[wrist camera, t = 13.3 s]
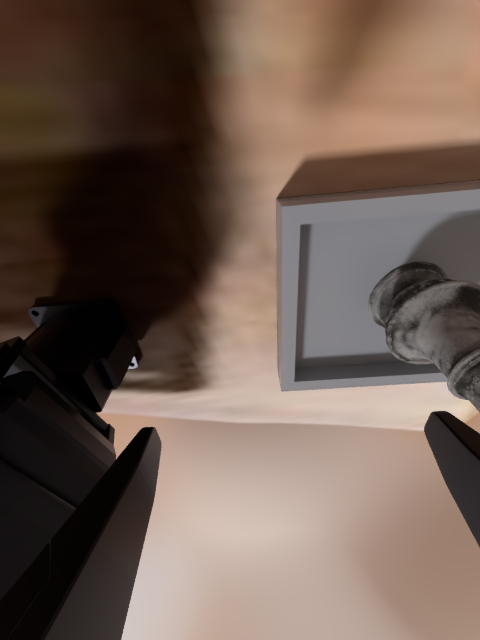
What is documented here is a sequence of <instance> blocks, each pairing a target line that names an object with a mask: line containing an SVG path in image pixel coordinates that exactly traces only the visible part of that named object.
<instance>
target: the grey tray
mask: <svg viewBox="0 0 480 640" xmlns="http://www.w3.org/2000/svg"><path fill="white" fill-rule="evenodd" d="M276 227H277V344H278V374H279V380H280V386H281V391H298V390H314V389H331V388H347V387H364V386H380V385H397V384H414V383H430V382H447V380H448V379H447V377H446V376H445V375H444V374H443V373H442V372H441V371H440V369H439V368H438V367H437V366H436V365H435V364H434V363H431V364H413V363H406V362H404V361H402V360H400V359H397V358H396V357H395V356H394V355H393V354H392V353H391V352H390V350H389V348H388V346H387V344H386V334H385V328H383V327H381V326H379V325H377V324H376V323H375V322H374V321H373V320H372V318H371V316H370V314H369V311H368V302H369V297H370V294H371V292H372V291H373V289H374V287H375V286H376V284H377V283H378V282H379V281H380V280H381V279H382V278H383V277H384V276H385V275H386V274H388V273H389V272H390V271H392V270H394V269H396V268H398V267H400V266H402V265H405V264H408V263H412V262H429V263H433V264H435V265H437V266H439V267H440V268H442V269H443V270H444V272H445V273H446V274H447V276H448V279H452V280H457V281H459V280H465V281H470V282H475V283H477V284H479V285H480V180H474V181H463V182H452V183H441V184H430V185H418V186H407V187H396V188H385V189H374V190H363V191H352V192H341V193H330V194H318V195H307V196H296V197H285V198H276Z"/></svg>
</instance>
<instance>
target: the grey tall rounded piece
mask: <svg viewBox="0 0 480 640" xmlns="http://www.w3.org/2000/svg"><path fill="white" fill-rule="evenodd" d="M368 311H369V314H370V316H371V318H372V320H373V321H374V322H375V323H376V324H377V325H379V326H381V327H383V328H385V334H386V344H387V346H388V348H389V350H390V352H391V353H392V354H393V355H394V356H395V357H396V358H397V359H400V360H402V361H404V362H406V363H413V364H431V363H434V364H435V365H436V366H437V367H438V368H439V369H440V371H441V372H442V373H443V374H444V375H445V376H446V377H447V379H448V380H447V386H448V389H449V391H450V392H451V393H452V394H453V395H454V396H456V397H458V398H460V399H466V400H469V401H470V402H471V403H472V404H473V405H474V406H475V407H476V409H477V410H478V411H479V412H480V285H479V284H477V283H475V282H470V281H465V280H459V281H457V280H452V279H448V276H447V274H446V273H445V272H444V270H443V269H442V268H440V267H439V266H437V265H435V264H433V263H429V262H412V263H408V264H405V265H402V266H400V267H398V268H396V269H394V270H392V271H390V272H389V273H388V274H386V275H385V276H384V277H383V278H382V279H381V280H380V281H379V282H378V283H377V284H376V286H375V287H374V289H373V291H372V292H371V294H370V297H369V302H368Z"/></svg>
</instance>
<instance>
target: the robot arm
mask: <svg viewBox="0 0 480 640" xmlns="http://www.w3.org/2000/svg"><path fill="white" fill-rule="evenodd" d="M107 305H110V306H111V307H112V308H109V307H108V306H107ZM36 311H37V312H38V313H37V312H36ZM28 313H29V315H30V317H31V318H32V320H33V322H34V323H35V325H36V327H37V329H36V330H35V331H34V332H33V333H32V334H30V335H29V336H28V337H27V338H26V339H25V340H24V341H23V340H22V339H21V338H20V337H19V336H18V337H15V338H12V339H10V340H7V341H4V342H2V343H0V640H121V637H122V633H123V629H124V625H125V621H126V616H127V612H128V608H129V603H130V599H131V595H132V591H133V587H134V582H135V578H136V574H137V569H138V565H139V561H140V557H141V553H142V549H143V544H144V540H145V536H146V532H147V527H148V523H149V519H150V515H151V511H152V506H153V502H154V497H155V491H156V483H157V476H158V469H159V460H160V454H161V440H160V438H159V435H158V433H157V430H156V428H154V427H144V428H142V429H141V430H140V431H139V432H138V433H137V435H136V436H135V437H134V438H133V440H132V441H131V442H130V443H129V444H128V446H127V447H126V448H125V449H124V451H123V452H122V453H121V454H120V455H119V457H118V458H117V459H116V453H115V450H114V446H113V445H114V431H115V429H114V428H113V427H112V426H111V425H110V424H107V423H106V422H105V421H104V420H103V419H101V418H100V417H99V416H98V415H97V414H96V412H101V411H102V409H103V407H104V405H105V403H106V401H107V400H108V398H109V396H110V394H111V392H112V390H116V389H118V387H119V386H120V384H121V382H122V380H123V378H124V376H125V374H126V372H127V370H128V369H134V368H136V367H137V366H138V364H139V360H138V357H137V355H136V351H137V350H136V347H135V345H134V342H133V340H132V337H131V334H130V332H129V329H128V327H127V326H126V325H125V323H124V321H123V318H122V315H121V313H120V310H119V308H118V305H117V303H116V302H115V301H113V300H111V299H106V300H93V301H79V302H66V303H53V304H40V305H33V306H32V307H31V308H29V309H28ZM131 362H133V363H131ZM424 432H425V435H426V438H427V440H428V442H429V445H430V447H431V450H432V452H433V454H434V457H435V459H436V462H437V464H438V466H439V469H440V471H441V473H442V476H443V478H444V480H445V482H446V485H447V487H448V489H449V491H450V492H451V494H452V496H453V498H454V500H455V502H456V504H457V506H458V507H459V509H460V511H461V513H462V515H463V517H464V519H465V520H466V522H467V524H468V526H469V528H470V530H471V532H472V534H473V536H474V537H475V539H476V541H477V543H478V545H479V547H480V434H479V433H478V432H476V431H475V430H474V429H472V428H471V427H469V426H468V425H466V424H465V423H463V422H462V421H461V420H459V419H458V418H456V417H455V416H453V415H452V414H450V413H449V412H446V411H435V412H432V413H431V414H430V416H429V418H428V420H427V422H426V424H425V427H424Z"/></svg>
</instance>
